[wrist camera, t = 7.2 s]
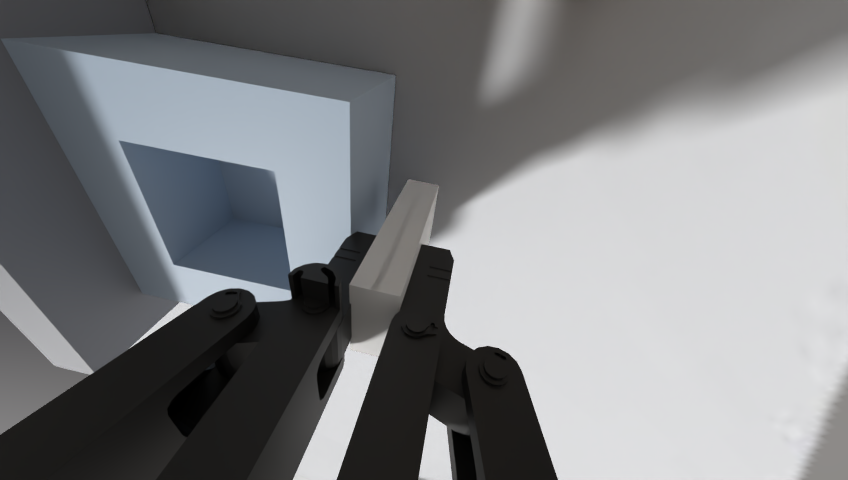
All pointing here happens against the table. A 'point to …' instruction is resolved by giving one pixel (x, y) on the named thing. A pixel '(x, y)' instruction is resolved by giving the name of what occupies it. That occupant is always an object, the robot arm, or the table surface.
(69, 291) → the wall
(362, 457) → the robot arm
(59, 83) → the block
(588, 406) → the table surface
